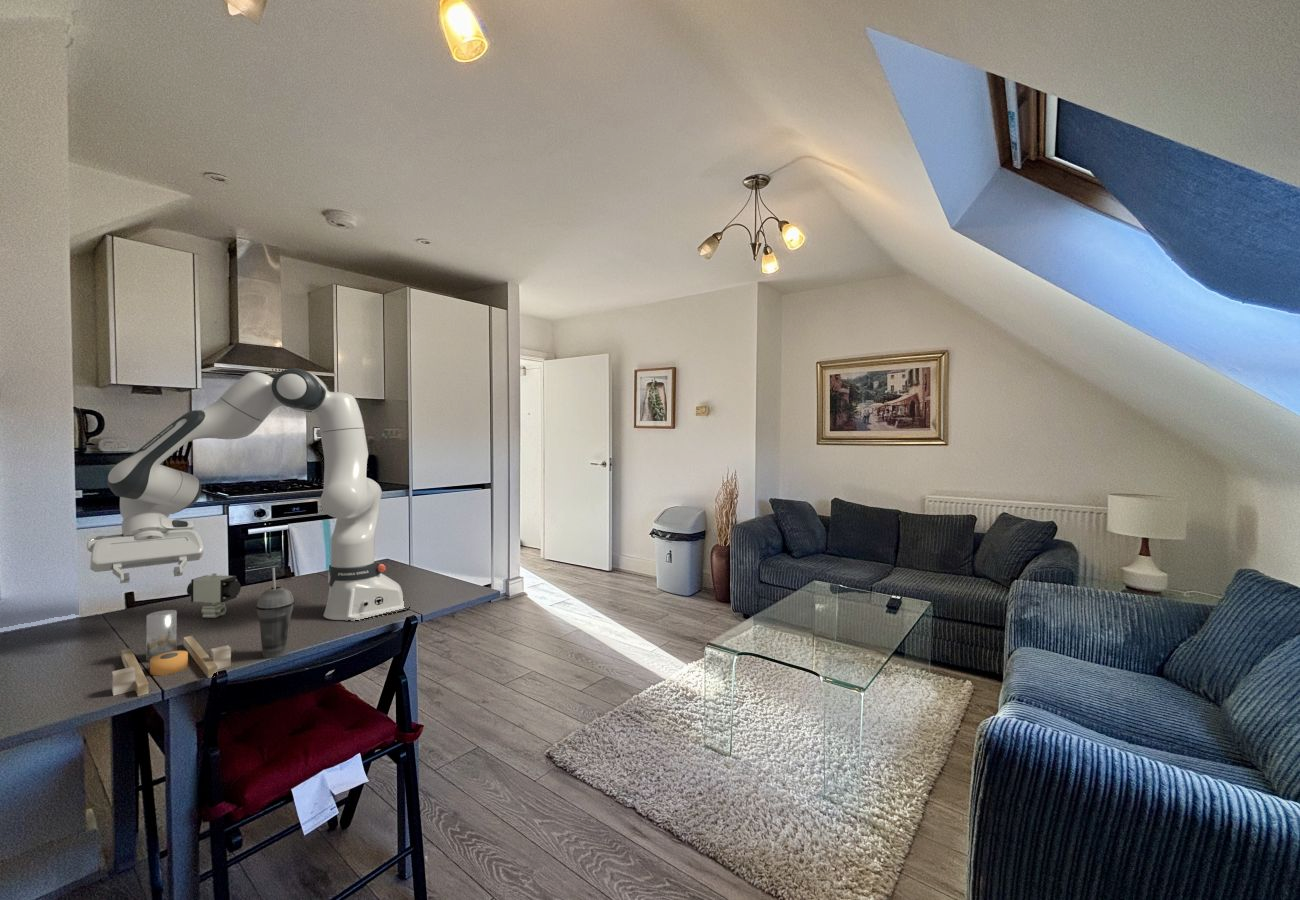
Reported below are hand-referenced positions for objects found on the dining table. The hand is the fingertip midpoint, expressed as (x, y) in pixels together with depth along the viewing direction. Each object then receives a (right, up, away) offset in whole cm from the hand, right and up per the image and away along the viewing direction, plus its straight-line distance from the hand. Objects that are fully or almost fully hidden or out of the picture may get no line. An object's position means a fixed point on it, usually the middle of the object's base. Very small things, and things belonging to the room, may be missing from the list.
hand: (152, 578), depth 126 cm
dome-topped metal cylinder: (+10, -16, -8) cm, 20 cm away
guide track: (+16, -16, -13) cm, 26 cm away
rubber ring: (+17, -16, -14) cm, 27 cm away
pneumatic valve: (-2, -16, +20) cm, 26 cm away
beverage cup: (+33, -17, -5) cm, 38 cm away
